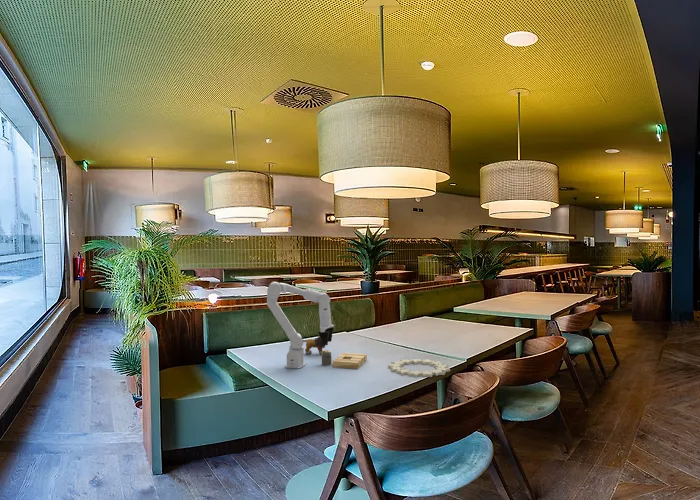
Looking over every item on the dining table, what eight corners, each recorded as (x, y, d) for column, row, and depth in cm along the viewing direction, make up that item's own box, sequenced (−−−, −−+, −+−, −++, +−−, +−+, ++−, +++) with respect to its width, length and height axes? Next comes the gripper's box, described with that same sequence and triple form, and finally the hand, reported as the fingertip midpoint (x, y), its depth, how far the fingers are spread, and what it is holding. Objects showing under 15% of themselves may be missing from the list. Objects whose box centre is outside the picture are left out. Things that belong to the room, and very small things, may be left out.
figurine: (331, 356, 243) (331, 328, 243) (294, 354, 248) (293, 327, 247) (334, 353, 250) (334, 326, 250) (298, 351, 254) (297, 325, 254)
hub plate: (357, 368, 217) (357, 362, 217) (332, 367, 221) (332, 360, 221) (366, 359, 235) (366, 353, 234) (343, 358, 238) (343, 352, 238)
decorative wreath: (448, 362, 229) (390, 360, 234) (448, 359, 229) (390, 357, 234) (451, 379, 200) (385, 376, 205) (451, 376, 200) (384, 373, 205)
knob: (329, 365, 223) (329, 352, 223) (320, 365, 224) (320, 351, 224) (332, 363, 227) (332, 350, 227) (323, 363, 229) (323, 349, 229)
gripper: (329, 319, 218) (331, 346, 219) (336, 313, 233) (338, 339, 233) (315, 319, 220) (317, 347, 220) (323, 314, 234) (325, 340, 234)
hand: (327, 343), depth 227 cm, fingers open, 7 cm apart
